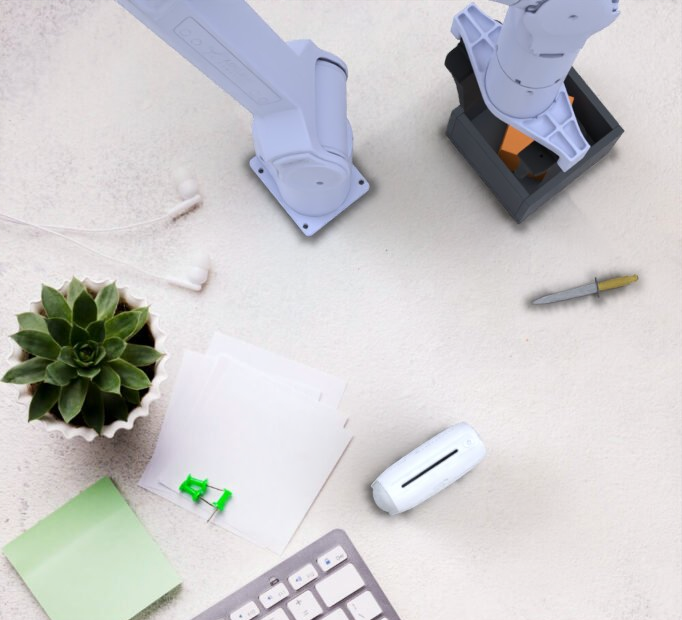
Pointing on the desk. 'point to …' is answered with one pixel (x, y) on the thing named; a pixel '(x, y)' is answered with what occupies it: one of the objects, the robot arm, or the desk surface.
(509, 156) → the block
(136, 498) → the desk surface
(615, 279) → the dagger
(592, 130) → the bin
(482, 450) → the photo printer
